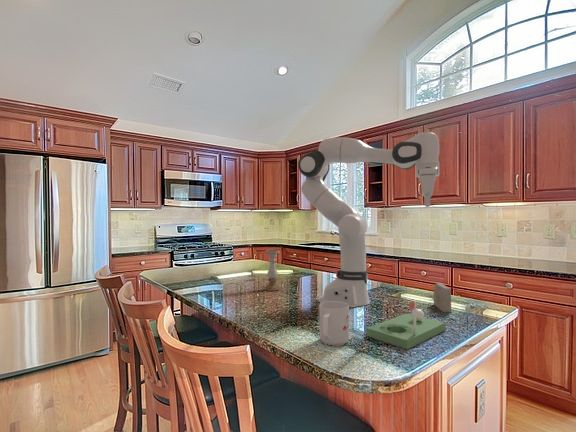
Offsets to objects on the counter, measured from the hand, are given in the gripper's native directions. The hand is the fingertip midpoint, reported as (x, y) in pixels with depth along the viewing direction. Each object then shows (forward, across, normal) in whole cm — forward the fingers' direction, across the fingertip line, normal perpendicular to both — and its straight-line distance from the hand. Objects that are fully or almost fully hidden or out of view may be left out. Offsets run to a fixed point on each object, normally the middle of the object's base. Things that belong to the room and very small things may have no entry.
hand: (427, 206), depth 133 cm
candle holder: (+42, -12, -75) cm, 87 cm away
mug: (+42, +49, -27) cm, 70 cm away
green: (+42, +31, -7) cm, 53 cm away
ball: (+38, +25, -4) cm, 45 cm away
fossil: (+42, -5, +6) cm, 43 cm away
